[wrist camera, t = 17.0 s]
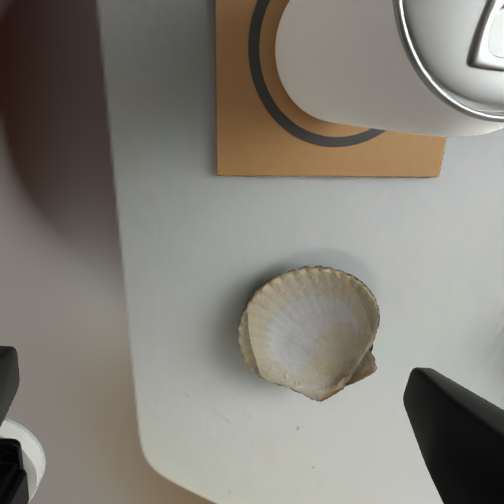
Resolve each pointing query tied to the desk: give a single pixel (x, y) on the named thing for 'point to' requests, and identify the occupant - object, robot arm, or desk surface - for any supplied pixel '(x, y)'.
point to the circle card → (293, 114)
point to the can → (396, 63)
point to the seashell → (310, 331)
